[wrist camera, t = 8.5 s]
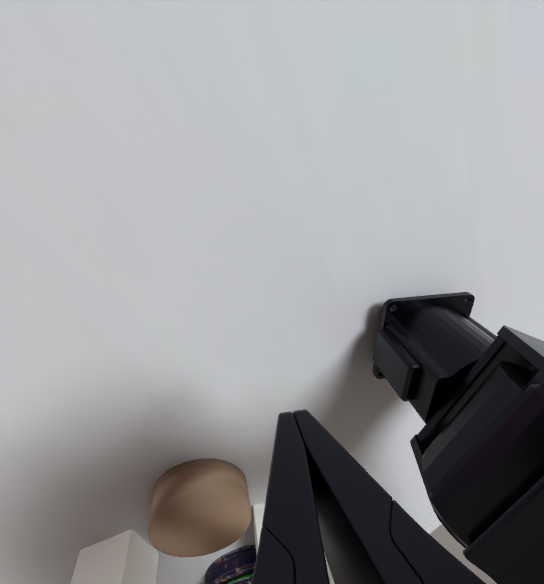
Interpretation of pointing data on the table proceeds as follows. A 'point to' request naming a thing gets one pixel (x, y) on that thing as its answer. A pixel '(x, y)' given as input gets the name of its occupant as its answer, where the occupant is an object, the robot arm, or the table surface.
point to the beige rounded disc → (199, 508)
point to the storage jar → (233, 567)
